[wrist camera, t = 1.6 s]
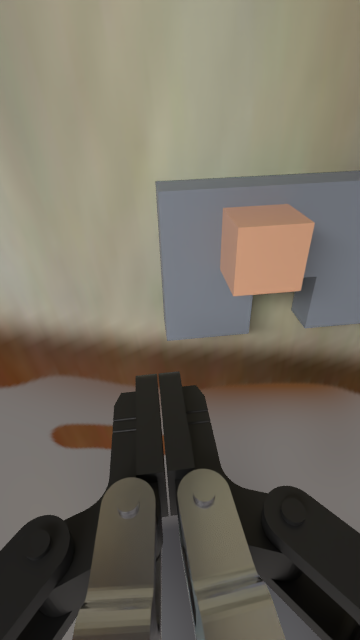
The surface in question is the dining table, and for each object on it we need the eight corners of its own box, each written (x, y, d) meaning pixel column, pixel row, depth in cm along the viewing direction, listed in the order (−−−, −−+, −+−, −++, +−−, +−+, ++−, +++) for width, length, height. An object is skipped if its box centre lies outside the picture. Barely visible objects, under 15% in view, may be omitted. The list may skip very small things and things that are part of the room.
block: (222, 207, 22) (238, 227, 19) (288, 203, 22) (314, 222, 19) (220, 269, 24) (233, 296, 21) (278, 265, 25) (300, 290, 22)
